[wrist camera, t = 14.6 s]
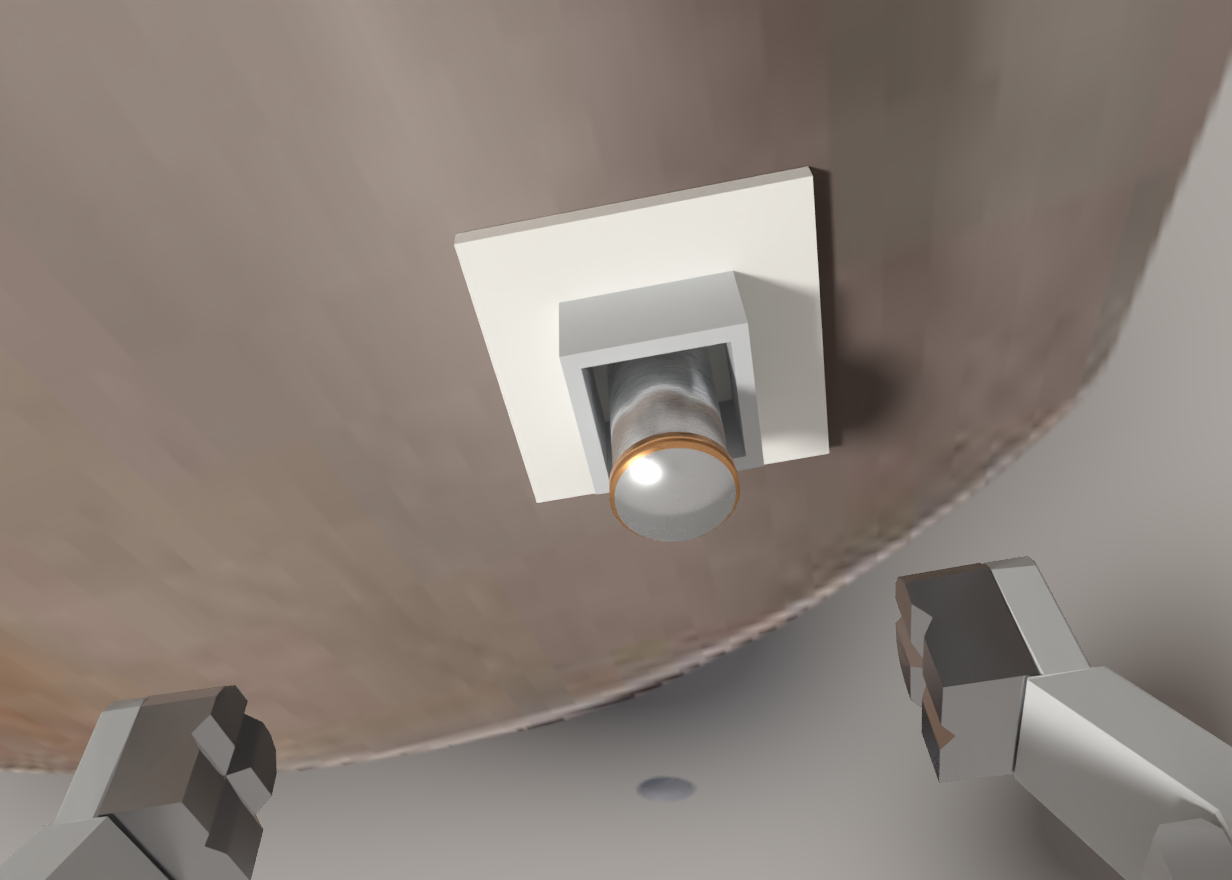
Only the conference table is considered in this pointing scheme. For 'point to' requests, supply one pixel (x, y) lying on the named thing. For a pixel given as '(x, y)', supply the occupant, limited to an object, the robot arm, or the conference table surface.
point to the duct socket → (655, 319)
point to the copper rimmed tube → (669, 447)
